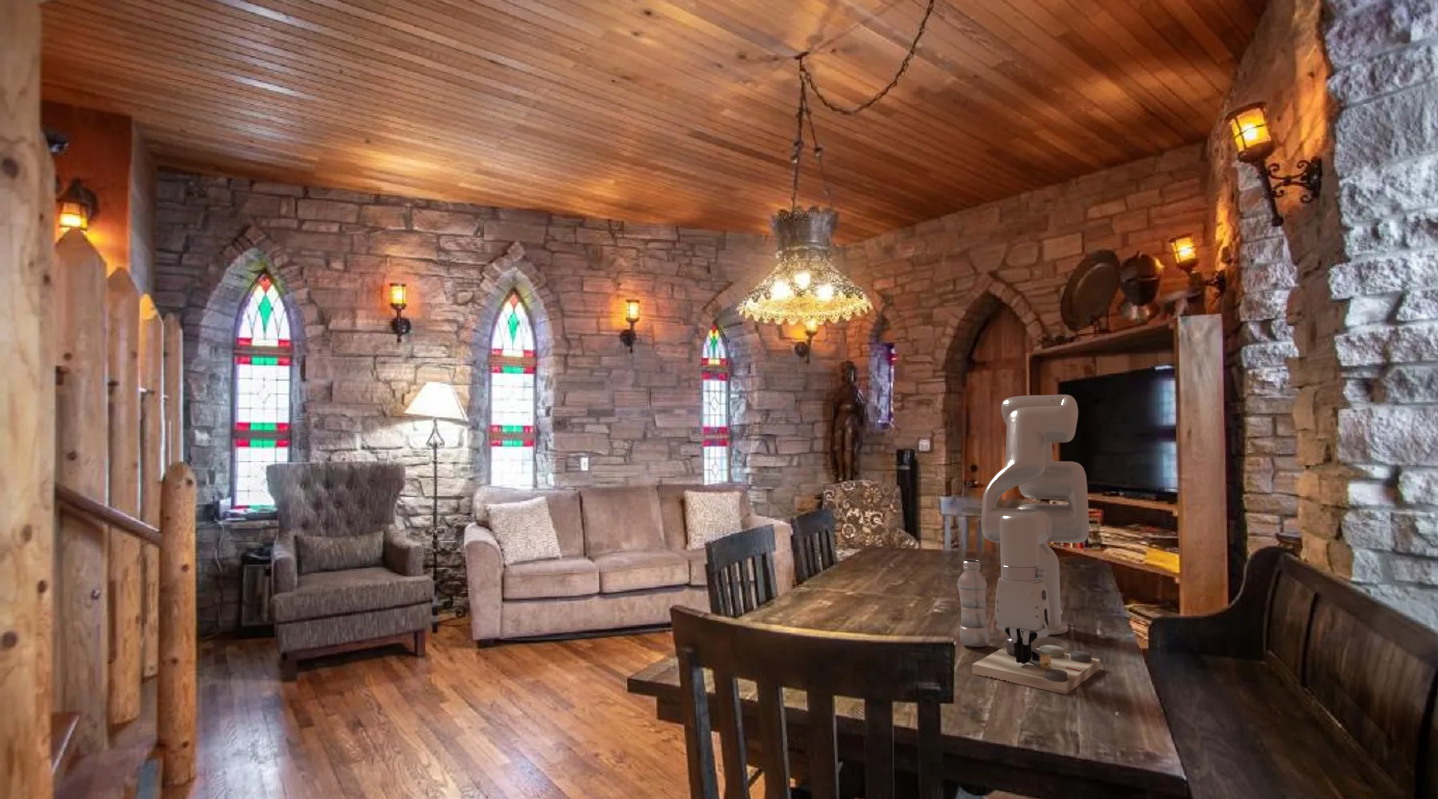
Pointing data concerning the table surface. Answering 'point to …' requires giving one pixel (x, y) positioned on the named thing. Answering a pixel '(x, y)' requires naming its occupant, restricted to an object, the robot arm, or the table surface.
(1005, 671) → the plate
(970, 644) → the plastic bottle
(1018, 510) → the robot arm
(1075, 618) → the table surface
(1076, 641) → the table surface
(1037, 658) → the grey lever handle
